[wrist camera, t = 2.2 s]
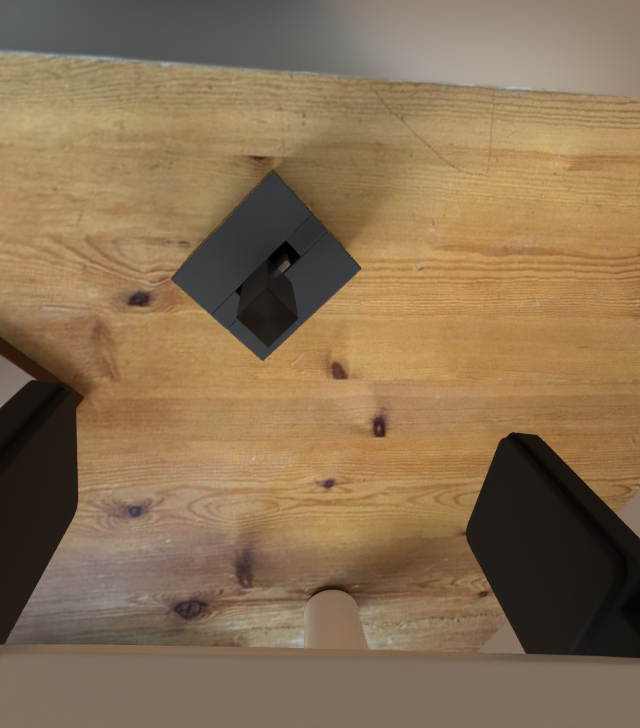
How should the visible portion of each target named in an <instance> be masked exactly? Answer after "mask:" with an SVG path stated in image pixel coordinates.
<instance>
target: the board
mask: <svg viewBox="0 0 640 728" xmlns="http://www.w3.org/2000/svg"><path fill="white" fill-rule="evenodd" d="M31 380H39V381H48V382H57V383H63V382H62V381H60V380H59V379H57V378H56V377H55V376H53V375H52V374H50V373H49V372H48V371H46V370H45V369H43V368H42V367H41V366H39V365H38V364H36V363H35V362H34V361H32V360H31V359H29V358H28V357H27V356H25V355H24V354H22V353H21V352H20V351H18V350H17V349H15V348H14V347H13V346H11V345H10V344H8V343H7V342H6V341H4V340H3V339H1V338H0V408H1V407H2V406H3V405H4V404H5V403H6V402H7V401H8V400H9V399H10V398H11V397H13V396H14V395H15V394H16V393H17V392H18V391H19V390H20V389H21V388H22V387H23V386H24V385H26V384H27V383H28V382H29V381H31ZM65 386H66V389H67V391H73V392H74V393H75V396H76V408H77V407H78V406H79V404H80V403H81V402H82V400H83V399H84V397H83V396H81V395H80V394H78V393H77V392H76V391H74V390H73V389H71V388H70V387H69V386H67V385H66V384H65Z"/></svg>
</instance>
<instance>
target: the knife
mask: <svg viewBox="0 0 640 728" xmlns="http://www.w3.org/2000/svg"><path fill="white" fill-rule="evenodd" d="M289 265H290V261H289V256H288V251H287V247H286V242H284V243H283V244H282V245H281V246H280V247H279V248H278V249H277V250H276V251H275V252H274V253H273V254H272V255H270V256H269V257H268V258H267V259H266V260H265V261H264V262H263V263H262V264H261V265H260V266H259V267H258V268H257V269H256V270H255V271H254V272H253V273H252V274H251V275H250V276H249V277H248V278H247V279H246V280H245V281H244V282H243V286H242V291H241V296H240V301H239V305H238V310H237V315H236V320H238V321H239V322H240V323H241V324H242V325H243V326H244V327H245V328H246V329H247V330H249V331H250V332H251V333H252V334H253V335H254V336H255V337H256V338H257V339H258V340H260V341H261V342H262V343H263V344H264V345H265V346H266V347H267V348H268V347H270V346H271V345H272V344H273V343H274V342H275V341H276V340H277V339H278V338H279V337H280V336H281V335H283V334H284V333H285V332H286V331H287V330H288V329H289V328H290V327H291V326H292V325H293V324H294V323H295V322H296V321H297V320H298V319H299V316H298V311H297V306H296V301H295V296H294V291H293V285H292V282H291V281H290V280H289V279H288V278H287V277H286V276H285V275H284V274H283V273H282V272H283V271H284V270H285V269H286V268H287V267H288V266H289Z"/></svg>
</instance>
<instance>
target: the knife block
mask: <svg viewBox="0 0 640 728" xmlns="http://www.w3.org/2000/svg"><path fill="white" fill-rule="evenodd" d="M285 241H287V242H288V243H289V244H290V246H289V247H288V248H287V251H288V256H289V261H290V265H289V266H288V267H287V268H286V269H285V270H284V271H283V272H282V273H283V274H284V275H285V276H286V277H287V278H288V279H289V280H290V281H291V282H292V285H293V291H294V296H295V301H296V306H297V311H298V316H299V319H298V320H297V321H296V322H295V323H294V324H293V325H292V326H291V327H290V328H289V329H288V330H287V331H286V332H285V333H284V334H283V335H281V336H280V337H279V338H278V339H277V340H276V341H275V342H274V343H273V344H272V345H271V346H270V347H268V348H267V347H266V346H265V345H264V344H263V343H262V342H261V341H260V340H258V339H257V338H256V337H255V336H254V335H253V334H252V333H251V332H250V331H249V330H247V329H246V328H245V327H244V326H243V325H242V324H241V323H240V322H239V321H238V320H236V315H237V310H238V305H239V301H240V296H241V291H242V286H243V282H244V281H245V280H246V279H247V278H248V277H249V276H250V275H251V274H252V273H253V272H254V271H255V270H256V269H257V268H258V267H259V266H260V265H261V264H262V263H263V262H264V261H265V260H266V259H267V258H268V257H269V256H270V255H272V254H273V253H274V252H275V251H276V250H277V249H278V248H279V247H280V246H281V245H282V244H283V243H284V242H285ZM360 270H361V267H360V266H359V265H358V263H357V262H356V261H355V260H354V259H353V258H352V256H351V255H350V254H349V253H348V252H347V251H346V250H345V248H344V247H343V246H342V245H341V244H340V243H339V242H338V241H337V240H336V238H335V237H334V236H333V235H332V234H331V233H330V232H329V231H328V230H327V229H326V227H325V226H324V225H323V224H322V223H321V222H320V221H319V220H318V219H317V217H316V216H315V215H314V214H313V213H312V212H311V211H310V210H309V209H308V207H307V206H306V205H305V204H304V203H303V202H302V201H301V200H300V199H299V198H298V196H297V195H296V194H295V193H294V192H293V191H292V190H291V189H290V188H289V186H288V185H287V184H286V183H285V182H284V181H283V180H282V179H281V178H280V176H279V175H278V174H277V173H276V172H275V171H274V170H273V169H272V170H271V171H270V172H269V173H268V174H267V175H266V176H265V177H264V178H263V179H262V181H261V182H260V183H259V184H258V185H257V186H256V187H255V188H254V189H253V190H252V191H251V192H250V193H249V194H248V195H247V196H246V197H245V198H244V199H243V200H242V202H241V203H240V204H239V205H238V206H237V207H236V208H235V209H234V210H233V211H232V212H231V213H230V214H229V215H228V216H227V217H226V218H225V219H224V220H223V221H222V223H221V224H220V225H219V226H218V227H217V228H216V229H215V230H214V231H213V232H212V233H211V234H210V235H209V236H208V237H207V238H206V239H205V240H204V241H203V242H202V244H201V245H200V246H199V247H198V248H197V249H196V250H195V251H194V252H193V253H192V254H191V255H190V256H189V257H188V258H187V260H186V261H185V262H184V263H183V264H182V266H181V267H180V268H179V269H178V270H177V272H176V273H175V274H174V275H173V276H172V278H171V280H172V281H173V282H174V283H175V284H176V285H177V286H179V287H180V288H181V289H182V290H183V291H184V292H185V293H186V294H188V295H189V296H190V297H191V298H192V299H193V300H194V301H195V302H197V303H198V304H199V305H200V306H201V307H202V308H203V309H204V310H206V311H207V312H208V313H209V314H210V315H211V316H212V317H213V318H214V319H216V320H217V321H218V322H219V323H220V324H221V325H222V326H223V327H225V328H226V329H227V330H228V331H229V332H230V333H232V334H233V335H234V336H235V337H236V338H237V339H238V340H239V341H241V342H242V343H243V344H244V345H245V346H246V347H247V348H248V349H250V350H251V351H252V352H253V353H254V354H255V355H256V356H257V357H259V358H260V359H261V360H262V361H263V360H265V359H266V358H267V357H268V356H269V355H270V354H271V353H272V352H273V351H274V350H275V349H276V348H278V347H279V346H280V345H281V344H282V343H283V342H284V341H285V340H286V339H287V338H288V337H289V336H290V335H291V334H293V333H294V332H295V331H296V330H297V329H298V328H299V327H300V326H301V325H302V324H303V323H304V322H305V321H306V320H307V319H309V318H310V317H311V316H312V315H313V314H314V313H315V312H316V311H317V310H318V309H319V308H320V307H321V306H322V305H324V304H325V303H326V302H327V301H328V300H329V299H330V298H331V297H332V296H333V295H334V294H335V293H336V292H337V291H339V290H340V289H341V288H342V287H343V286H344V285H345V284H346V283H347V282H348V281H349V280H350V279H351V278H352V277H354V276H355V275H356V274H357V273H358V272H359V271H360Z"/></svg>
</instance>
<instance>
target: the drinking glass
mask: <svg viewBox="0 0 640 728" xmlns="http://www.w3.org/2000/svg"><path fill="white" fill-rule="evenodd" d="M303 623H304V648H316V649H360V650H369V648H368V645H367V641H366V638H365V634H364V631H363V628H362V624H361V620H360V615H359V610H358V606H357V603H356V601H355V600H354V598H353V597H352V596H351V595H350V594H348V593H346V592H344V591H341V590H326V591H322V592H319V593H317V594H315V595H314V596H312V597H311V598H310V599H309V600H308V602H307V603H306V605H305V607H304V611H303Z"/></svg>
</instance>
